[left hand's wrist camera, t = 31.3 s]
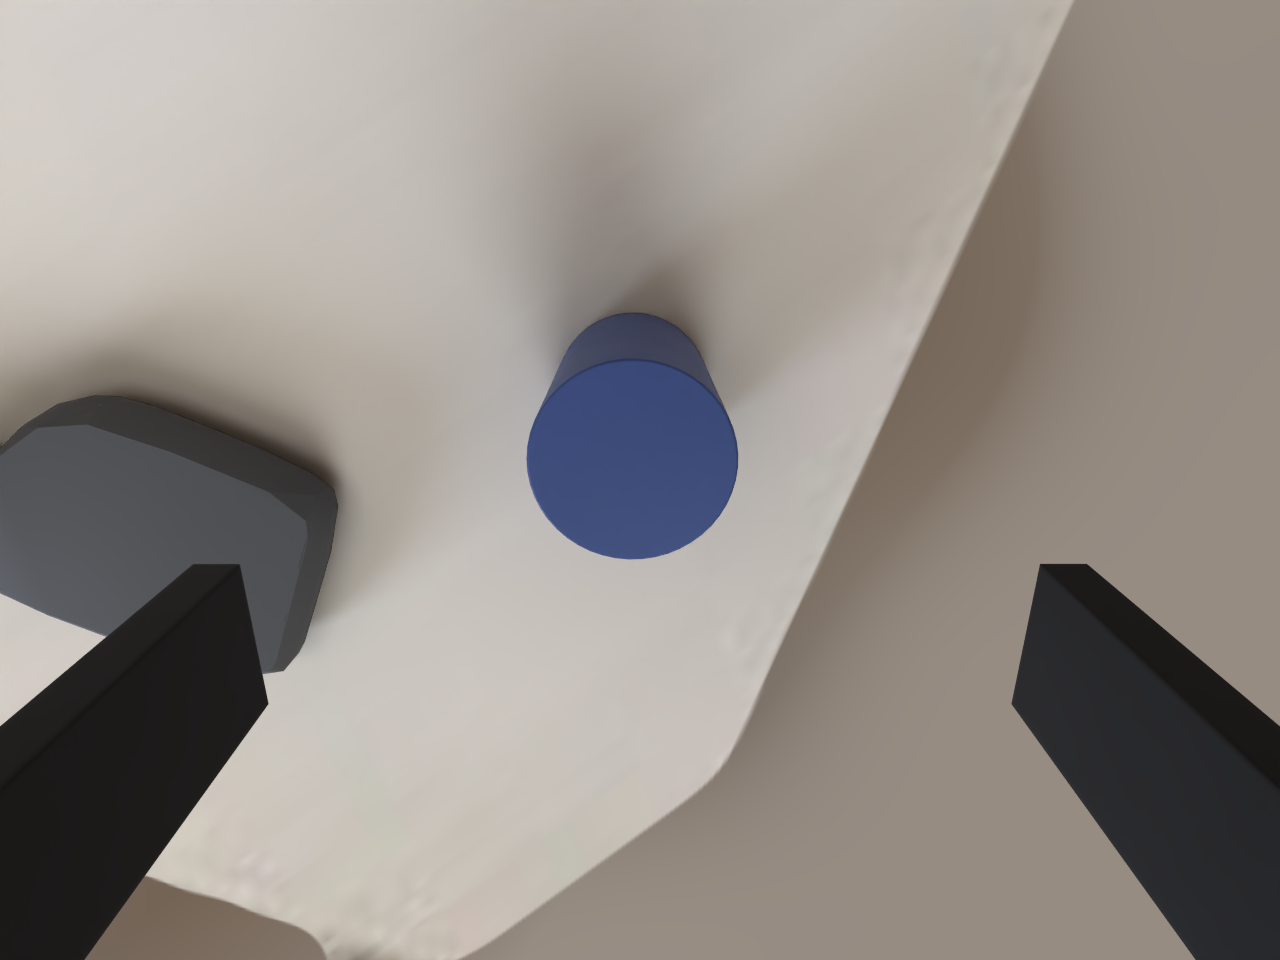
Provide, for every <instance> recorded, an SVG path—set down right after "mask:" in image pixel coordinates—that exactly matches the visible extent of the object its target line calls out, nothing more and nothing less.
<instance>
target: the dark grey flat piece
mask: <svg viewBox="0 0 1280 960" xmlns="http://www.w3.org/2000/svg"><path fill="white" fill-rule="evenodd" d="M337 510H338V504H337V500H336V496H335V492H334V489H332V488H331V487H329V486H328V485H327V484H325V483H324V482H323V481H321V480H320V479H318V478H317V477H316V476H314V475H313V474H312V473H310V472H308V471H306V470H304V469H302V468H300V467H298V466H296V465H294V464H291V463H289V462H287V461H285V460H283V459H281V458H279V457H277V456H275V455H272V454H270V453H268V452H266V451H264V450H262V449H260V448H258V447H256V446H253V445H251V444H248V443H246V442H243V441H241V440H239V439H236V438H234V437H231V436H229V435H226V434H224V433H222V432H219V431H217V430H214V429H212V428H209V427H207V426H204V425H202V424H199V423H197V422H194V421H191V420H189V419H186V418H184V417H181V416H178V415H176V414H173V413H171V412H168V411H165V410H163V409H160V408H158V407H155V406H152V405H149V404H145V403H141V402H138V401H134V400H130V399H127V398H123V397H119V396H97V395H95V396H90V397H86V398H82V399H77V400H73V401H69V402H64V403H60V404H57V405H55V406H54V407H52V408H50V409H49V410H47V411H46V412H44V413H42V414H41V415H39V416H38V417H36V418H34V419H33V420H31V421H30V422H28V423H26V424H25V425H23V426H22V427H21V428H20V429H19V430H18V431H17V432H16V433H15V434H14V435H13V436H12V437H11V438H10V439H9V440H8V441H7V442H6V443H5V444H4V445H3V446H2V447H1V448H0V593H1V594H3V595H5V596H7V597H10V598H12V599H14V600H16V601H18V602H20V603H23V604H25V605H27V606H29V607H31V608H33V609H36V610H38V611H40V612H42V613H44V614H46V615H49V616H52V617H54V618H57V619H60V620H62V621H65V622H68V623H71V624H73V625H76V626H79V627H81V628H84V629H87V630H90V631H92V632H95V633H98V634H100V635H103V636H106V637H107V636H108V635H109V634H111V633H112V632H113V631H114V630H115V629H117V628H118V627H119V626H120V625H121V624H122V623H124V622H125V621H126V620H127V619H128V618H130V617H131V616H132V615H133V614H134V613H136V612H137V611H138V610H139V609H140V608H141V607H143V606H144V605H145V604H146V603H147V602H149V601H150V600H151V599H152V598H153V597H155V596H156V595H157V594H158V593H159V592H160V591H162V590H163V589H164V588H165V587H166V586H168V585H169V584H170V583H171V582H172V581H174V580H175V579H176V578H177V577H178V576H179V575H181V574H182V573H183V572H184V571H185V570H187V569H188V568H189V567H190V566H191V565H193V564H240V567H241V572H242V577H243V582H244V587H245V592H246V597H247V601H248V606H249V611H250V616H251V621H252V626H253V631H254V636H255V641H256V645H257V650H258V655H259V660H260V665H261V670H262V674H266V673H273V672H280V671H284V670H285V669H286V667H287V666H288V665H289V664H290V663H291V662H292V660H293V659H294V658H295V657H296V656H297V654H298V653H299V652H300V650H301V648H302V646H303V644H304V642H305V639H306V636H307V632H308V629H309V625H310V622H311V618H312V615H313V611H314V608H315V605H316V601H317V598H318V594H319V591H320V587H321V584H322V581H323V577H324V574H325V570H326V567H327V563H328V560H329V557H330V553H331V548H332V542H333V535H334V529H335V522H336V516H337Z"/></svg>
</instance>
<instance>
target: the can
mask: <svg viewBox="0 0 1280 960" xmlns="http://www.w3.org/2000/svg"><path fill="white" fill-rule="evenodd" d="M737 469H738V449H737V441H736V437H735V433H734V429H733V426H732V424H731V422H730V419H729V417H728V414H727V412H726V410H725V408H724V406H723V403H722V401H721V399H720V397H719V395H718V392H717V390H716V388H715V386H714V384H713V381H712V379H711V377H710V375H709V372H708V370H707V368H706V366H705V364H704V361H703V359H702V357H701V355H700V353H699V351H698V350H697V348H696V346H695V345H694V344H693V342H692V341H691V340H690V338H689V337H688V336H687V335H686V334H685V333H684V332H683V331H681V330H680V329H679V328H677V327H676V326H675V325H673V324H671V323H669V322H668V321H666V320H664V319H661V318H658V317H656V316H652V315H648V314H641V313H624V314H617V315H613V316H610V317H607V318H604V319H602V320H600V321H598V322H596V323H594V324H593V325H591V326H589V327H588V328H587V329H585V330H584V331H583V332H582V333H581V334H580V335H579V336H578V337H577V338H576V339H575V340H574V341H573V343H572V344H571V346H570V347H569V348H568V350H567V352H566V354H565V356H564V358H563V360H562V362H561V364H560V367H559V369H558V371H557V373H556V375H555V377H554V380H553V382H552V384H551V386H550V388H549V390H548V392H547V395H546V397H545V399H544V401H543V403H542V405H541V408H540V410H539V412H538V414H537V416H536V418H535V421H534V423H533V426H532V429H531V432H530V436H529V441H528V446H527V471H528V476H529V481H530V485H531V488H532V491H533V494H534V496H535V499H536V501H537V502H538V504H539V506H540V508H541V510H542V511H543V513H544V514H545V516H546V517H547V518H548V520H549V521H550V522H551V523H552V524H553V525H554V526H555V527H556V529H557V530H559V531H560V532H561V533H562V534H563V535H564V536H566V537H567V538H568V539H570V540H571V541H573V542H574V543H576V544H577V545H579V546H581V547H583V548H585V549H587V550H589V551H592V552H595V553H598V554H601V555H604V556H608V557H613V558H620V559H645V558H652V557H657V556H661V555H664V554H668V553H670V552H673V551H675V550H678V549H680V548H682V547H684V546H685V545H687V544H689V543H691V542H692V541H694V540H695V539H696V538H698V537H699V536H701V535H702V534H703V533H704V532H705V531H706V530H707V529H708V528H709V527H710V526H711V525H712V524H713V523H714V522H715V521H716V519H717V518H718V517H719V516H720V514H721V513H722V511H723V509H724V508H725V506H726V505H727V503H728V500H729V498H730V496H731V494H732V491H733V488H734V484H735V481H736V476H737Z"/></svg>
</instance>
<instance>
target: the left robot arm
mask: <svg viewBox="0 0 1280 960" xmlns="http://www.w3.org/2000/svg"><path fill="white" fill-rule="evenodd" d="M267 705H268V699H267V694H266V690H265V685H264V680H263V675H262V670H261V665H260V660H259V655H258V650H257V645H256V641H255V636H254V631H253V626H252V621H251V616H250V611H249V606H248V601H247V597H246V592H245V587H244V582H243V577H242V572H241V567H240V564H193V565H191V566H190V567H189V568H188V569H187V570H185V571H184V572H183V573H182V574H181V575H179V576H178V577H177V578H176V579H175V580H174V581H172V582H171V583H170V584H169V585H168V586H166V587H165V588H164V589H163V590H162V591H160V592H159V593H158V594H157V595H156V596H155V597H153V598H152V599H151V600H150V601H149V602H147V603H146V604H145V605H144V606H143V607H141V608H140V609H139V610H138V611H137V612H136V613H134V614H133V615H132V616H131V617H130V618H128V619H127V620H126V621H125V622H124V623H122V624H121V625H120V626H119V627H118V628H117V629H115V630H114V631H113V632H112V633H111V634H109V635H108V636H107V637H106V638H105V639H103V640H102V641H101V642H100V643H99V644H98V645H96V646H95V647H94V648H93V649H92V650H90V651H89V652H88V653H87V654H86V655H84V656H83V657H82V658H81V659H80V660H78V661H77V662H76V663H75V664H74V665H73V666H71V667H70V668H69V669H68V670H67V671H65V672H64V673H63V674H62V675H61V676H59V677H58V678H57V679H56V680H55V681H54V682H52V683H51V684H50V685H49V686H48V687H46V688H45V689H44V690H43V691H42V692H40V693H39V694H38V695H37V696H36V697H35V698H33V699H32V700H31V701H30V702H29V703H27V704H26V705H25V706H24V707H23V708H21V709H20V710H19V711H18V712H17V713H16V714H14V715H13V716H12V717H11V718H10V719H8V720H7V721H6V722H5V723H4V724H2V725H1V726H0V960H84V959H85V958H86V957H87V955H88V954H89V953H90V951H91V950H92V948H93V947H94V946H95V944H96V943H97V941H98V940H99V939H100V937H101V936H102V935H103V933H104V932H105V930H106V929H107V927H108V926H109V925H110V923H111V922H112V921H113V919H114V918H115V916H116V915H117V914H118V912H119V911H120V910H121V908H122V907H123V905H124V904H125V903H126V901H127V900H128V898H129V897H130V896H131V894H132V893H133V891H134V890H135V889H136V887H137V886H138V884H139V883H140V882H141V880H142V879H143V877H144V876H145V875H146V873H147V872H148V871H149V869H150V868H151V866H152V865H153V864H154V862H155V861H156V860H157V858H158V857H159V855H160V854H161V853H162V851H163V850H164V848H165V847H166V846H167V844H168V843H169V841H170V840H171V839H172V837H173V836H174V834H175V833H176V832H177V830H178V829H179V828H180V826H181V825H182V823H183V822H184V821H185V819H186V818H187V816H188V815H189V814H190V812H191V811H192V809H193V808H194V807H195V805H196V804H197V803H198V801H199V800H200V798H201V797H202V796H203V794H204V793H205V791H206V790H207V789H208V787H209V786H210V784H211V783H212V782H213V780H214V779H215V778H216V776H217V775H218V773H219V772H220V771H221V769H222V768H223V766H224V765H225V764H226V762H227V761H228V759H229V758H230V757H231V755H232V754H233V753H234V751H235V750H236V748H237V747H238V746H239V744H240V743H241V741H242V740H243V739H244V737H245V736H246V734H247V733H248V732H249V730H250V729H251V728H252V726H253V725H254V723H255V722H256V721H257V719H258V718H259V716H260V715H261V714H262V712H263V711H264V709H265V708H266V707H267ZM1012 705H1013V707H1014V708H1015V709H1016V711H1017V712H1018V714H1019V715H1020V716H1021V718H1022V719H1023V721H1024V722H1025V723H1026V725H1027V726H1028V728H1029V729H1030V730H1031V732H1032V733H1033V734H1034V736H1035V737H1036V739H1037V740H1038V741H1039V743H1040V744H1041V745H1042V747H1043V748H1044V750H1045V751H1046V753H1047V754H1048V755H1049V757H1050V758H1051V759H1052V761H1053V762H1054V764H1055V765H1056V766H1057V768H1058V769H1059V771H1060V772H1061V773H1062V775H1063V776H1064V778H1065V779H1066V780H1067V782H1068V783H1069V784H1070V786H1071V787H1072V789H1073V790H1074V791H1075V793H1076V794H1077V796H1078V797H1079V798H1080V800H1081V801H1082V803H1083V804H1084V805H1085V807H1086V808H1087V809H1088V811H1089V812H1090V814H1091V815H1092V816H1093V818H1094V819H1095V821H1096V822H1097V823H1098V825H1099V826H1100V828H1101V829H1102V830H1103V832H1104V833H1105V834H1106V836H1107V837H1108V839H1109V840H1110V841H1111V843H1112V844H1113V846H1114V847H1115V848H1116V850H1117V851H1118V853H1119V854H1120V855H1121V857H1122V858H1123V859H1124V861H1125V862H1126V864H1127V865H1128V866H1129V868H1130V869H1131V871H1132V872H1133V873H1134V875H1135V876H1136V878H1137V879H1138V880H1139V882H1140V883H1141V884H1142V886H1143V887H1144V889H1145V890H1146V891H1147V893H1148V894H1149V896H1150V897H1151V898H1152V900H1153V901H1154V902H1155V904H1156V905H1157V907H1158V908H1159V909H1160V911H1161V912H1162V914H1163V915H1164V916H1165V918H1166V919H1167V921H1168V922H1169V923H1170V925H1171V926H1172V928H1173V929H1174V930H1175V932H1176V933H1177V935H1178V936H1179V937H1180V939H1181V940H1182V941H1183V943H1184V944H1185V946H1186V947H1187V948H1188V950H1189V951H1190V953H1191V954H1192V955H1193V957H1194V958H1195V959H1196V960H1280V726H1279V725H1278V724H1276V723H1275V722H1274V721H1273V720H1272V719H1270V718H1269V717H1268V716H1267V715H1266V714H1264V713H1263V712H1262V711H1261V710H1260V709H1258V708H1257V707H1256V706H1255V705H1254V704H1253V703H1251V702H1250V701H1249V700H1248V699H1247V698H1245V697H1244V696H1243V695H1242V694H1241V693H1240V692H1238V691H1237V690H1236V689H1235V688H1234V687H1232V686H1231V685H1230V684H1229V683H1228V682H1226V681H1225V680H1224V679H1223V678H1222V677H1221V676H1219V675H1218V674H1217V673H1216V672H1215V671H1213V670H1212V669H1211V668H1210V667H1209V666H1207V665H1206V664H1205V663H1204V662H1203V661H1202V660H1200V659H1199V658H1198V657H1197V656H1196V655H1194V654H1193V653H1192V652H1191V651H1190V650H1188V649H1187V648H1186V647H1185V646H1184V645H1182V644H1181V643H1180V642H1179V641H1178V640H1176V639H1175V638H1174V637H1173V636H1172V635H1171V634H1169V633H1168V632H1167V631H1166V630H1165V629H1163V628H1162V627H1161V626H1160V625H1159V624H1158V623H1156V622H1155V621H1154V620H1153V619H1151V618H1150V617H1149V616H1148V615H1147V614H1146V613H1144V612H1143V611H1142V610H1141V609H1140V608H1139V607H1137V606H1136V605H1135V604H1134V603H1133V602H1131V601H1130V600H1129V599H1128V598H1127V597H1125V596H1124V595H1123V594H1122V593H1121V592H1119V591H1118V590H1117V589H1116V588H1115V587H1114V586H1112V585H1111V584H1110V583H1109V582H1108V581H1106V580H1105V579H1104V578H1103V577H1102V576H1100V575H1099V574H1098V573H1097V572H1096V571H1095V570H1093V569H1092V568H1091V567H1090V566H1089V565H1087V564H1040V567H1039V572H1038V577H1037V582H1036V587H1035V592H1034V597H1033V601H1032V606H1031V611H1030V616H1029V621H1028V626H1027V631H1026V636H1025V641H1024V646H1023V650H1022V655H1021V661H1020V665H1019V670H1018V675H1017V680H1016V685H1015V690H1014V694H1013V699H1012Z"/></svg>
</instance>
